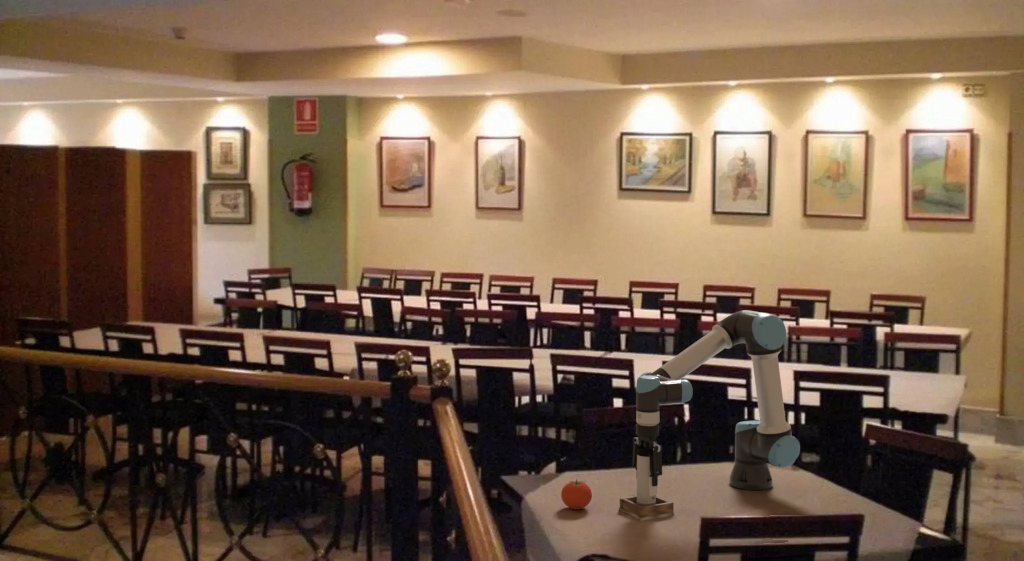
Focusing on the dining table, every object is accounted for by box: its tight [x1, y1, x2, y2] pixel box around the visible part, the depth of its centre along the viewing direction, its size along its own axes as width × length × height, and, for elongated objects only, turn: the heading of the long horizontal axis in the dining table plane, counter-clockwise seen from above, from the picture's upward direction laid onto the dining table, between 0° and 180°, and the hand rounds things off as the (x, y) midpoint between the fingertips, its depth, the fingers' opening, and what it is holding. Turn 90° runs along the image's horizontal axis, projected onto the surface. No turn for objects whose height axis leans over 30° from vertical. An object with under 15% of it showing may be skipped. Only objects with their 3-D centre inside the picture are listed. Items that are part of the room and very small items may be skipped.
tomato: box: [560, 478, 593, 510], centre depth 347 cm, size 10×10×10 cm
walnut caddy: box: [618, 495, 675, 522], centre depth 343 cm, size 13×13×4 cm
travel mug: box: [636, 446, 657, 507], centre depth 342 cm, size 6×7×20 cm
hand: (646, 492), depth 343 cm, fingers closed on travel mug, 6 cm apart
